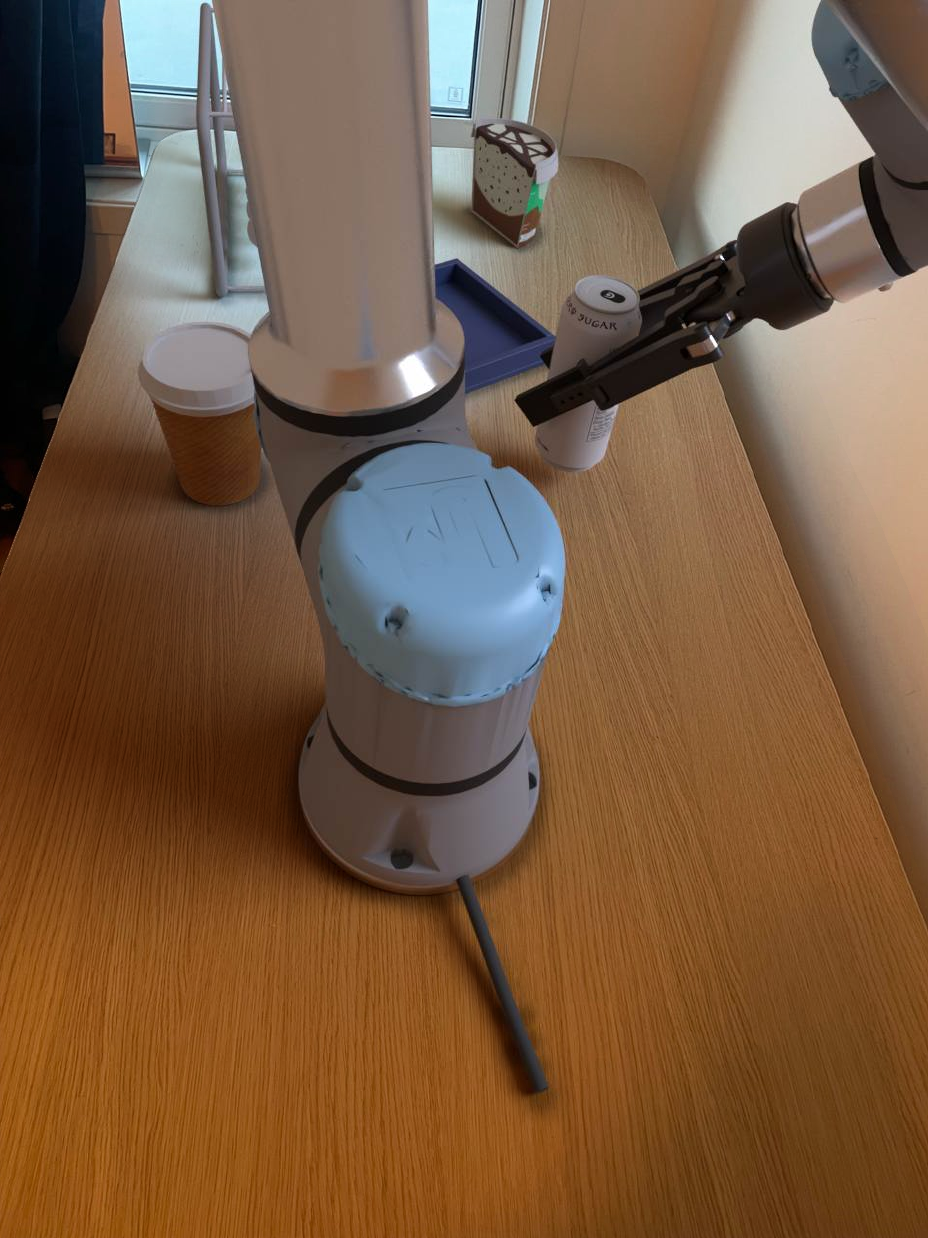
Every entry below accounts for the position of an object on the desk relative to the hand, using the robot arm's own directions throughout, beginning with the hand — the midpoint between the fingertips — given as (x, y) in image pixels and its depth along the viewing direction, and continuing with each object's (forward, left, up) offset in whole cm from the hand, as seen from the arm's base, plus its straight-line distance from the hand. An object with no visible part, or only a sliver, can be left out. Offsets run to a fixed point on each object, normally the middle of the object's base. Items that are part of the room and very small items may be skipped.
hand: (538, 388), depth 76 cm
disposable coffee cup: (+11, +23, -8) cm, 27 cm away
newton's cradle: (+45, 0, -8) cm, 46 cm away
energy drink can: (-3, -2, -6) cm, 7 cm away
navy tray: (+19, -4, -8) cm, 21 cm away
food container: (+34, -26, -8) cm, 44 cm away
